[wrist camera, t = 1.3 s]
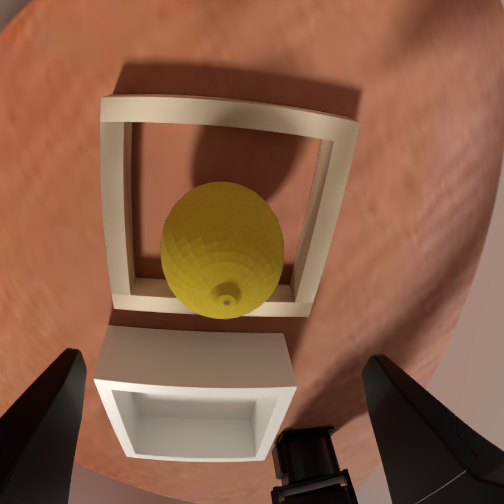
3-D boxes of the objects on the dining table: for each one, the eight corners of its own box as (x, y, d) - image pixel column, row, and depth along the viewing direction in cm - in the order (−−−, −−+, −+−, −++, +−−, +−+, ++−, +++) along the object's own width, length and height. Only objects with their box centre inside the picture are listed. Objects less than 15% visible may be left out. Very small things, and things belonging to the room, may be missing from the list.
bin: (283, 332, 24) (297, 386, 20) (257, 418, 30) (264, 460, 26) (108, 324, 22) (93, 378, 18) (131, 414, 28) (126, 456, 24)
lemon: (246, 262, 20) (265, 363, 13) (159, 236, 19) (136, 336, 12) (284, 182, 18) (330, 261, 11) (188, 148, 16) (170, 211, 9)
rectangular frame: (347, 116, 16) (360, 122, 15) (302, 299, 22) (308, 316, 21) (112, 94, 14) (101, 97, 12) (119, 291, 20) (114, 308, 19)
